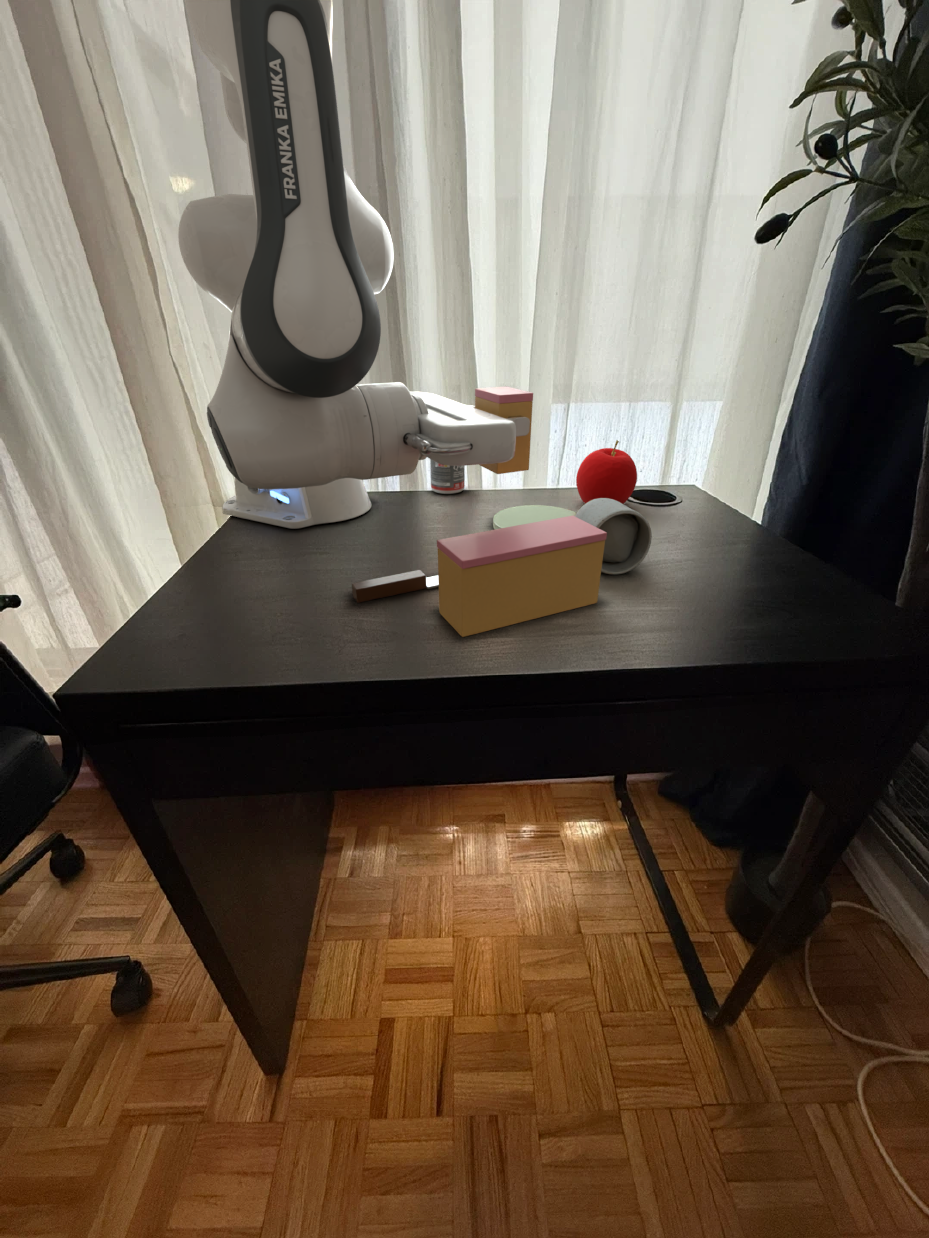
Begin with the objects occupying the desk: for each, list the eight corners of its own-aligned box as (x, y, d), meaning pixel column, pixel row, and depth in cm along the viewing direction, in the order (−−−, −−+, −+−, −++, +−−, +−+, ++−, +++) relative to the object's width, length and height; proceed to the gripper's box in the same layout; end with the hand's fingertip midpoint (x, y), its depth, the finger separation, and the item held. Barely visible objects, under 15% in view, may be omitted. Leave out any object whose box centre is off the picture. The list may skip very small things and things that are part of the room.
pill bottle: (460, 495, 93) (460, 433, 89) (427, 493, 94) (425, 432, 90) (467, 486, 98) (467, 426, 93) (435, 484, 99) (434, 425, 94)
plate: (482, 537, 77) (482, 530, 77) (504, 507, 88) (505, 501, 88) (578, 547, 74) (579, 540, 73) (589, 515, 85) (590, 509, 84)
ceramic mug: (619, 546, 74) (627, 488, 70) (647, 572, 67) (657, 509, 63) (541, 553, 73) (544, 494, 69) (561, 580, 65) (566, 516, 62)
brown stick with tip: (358, 604, 60) (356, 590, 60) (352, 595, 62) (350, 581, 61) (520, 569, 68) (521, 557, 67) (510, 562, 70) (510, 550, 69)
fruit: (627, 518, 84) (637, 449, 79) (567, 510, 87) (573, 443, 82) (637, 500, 91) (647, 436, 86) (581, 494, 94) (588, 431, 89)
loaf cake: (462, 638, 54) (462, 561, 50) (438, 612, 59) (436, 539, 55) (598, 603, 60) (607, 532, 56) (566, 582, 65) (573, 515, 61)
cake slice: (497, 474, 61) (499, 395, 57) (474, 462, 65) (474, 388, 61) (529, 470, 62) (533, 392, 58) (504, 459, 67) (507, 386, 63)
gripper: (427, 414, 47) (567, 402, 52) (356, 384, 63) (468, 377, 68) (429, 489, 50) (561, 471, 55) (361, 442, 66) (468, 431, 71)
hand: (509, 419), depth 62 cm, fingers closed on cake slice, 5 cm apart
